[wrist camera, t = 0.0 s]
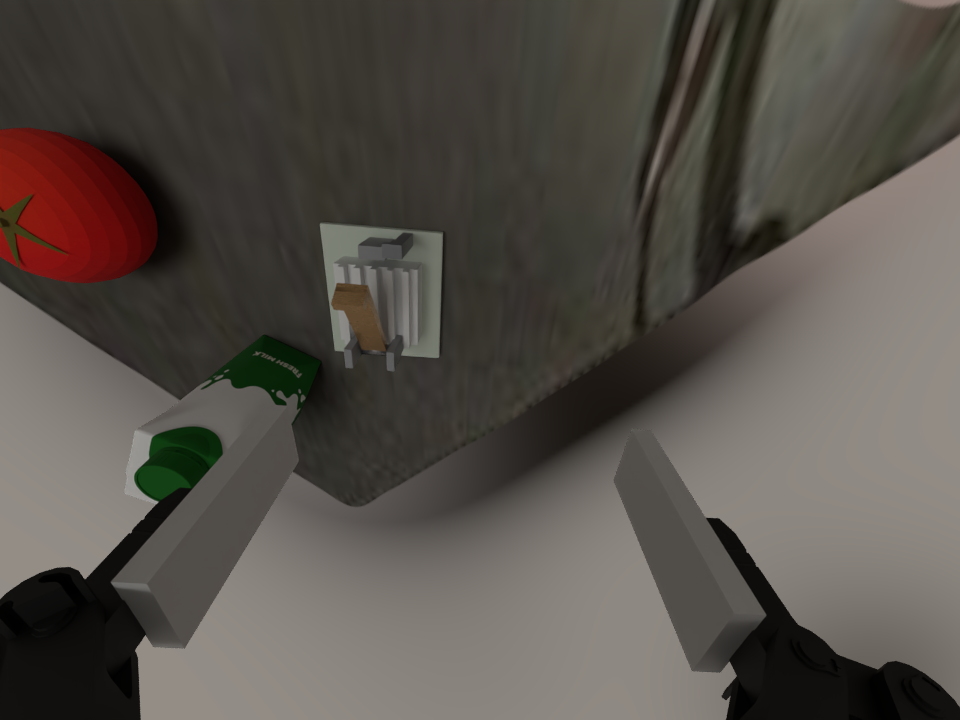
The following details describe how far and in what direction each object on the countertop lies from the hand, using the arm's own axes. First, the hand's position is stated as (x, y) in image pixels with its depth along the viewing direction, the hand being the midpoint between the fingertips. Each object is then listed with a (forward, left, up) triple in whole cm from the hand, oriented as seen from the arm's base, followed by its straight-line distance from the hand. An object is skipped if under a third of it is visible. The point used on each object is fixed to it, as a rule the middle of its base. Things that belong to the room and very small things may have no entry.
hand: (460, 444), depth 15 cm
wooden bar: (+4, -9, -20) cm, 23 cm away
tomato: (-3, -35, -28) cm, 45 cm away
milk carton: (+15, -22, -28) cm, 39 cm away
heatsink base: (+4, -9, -28) cm, 30 cm away
